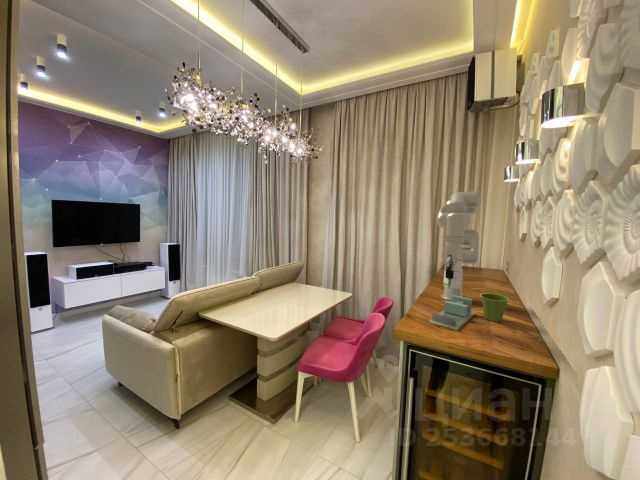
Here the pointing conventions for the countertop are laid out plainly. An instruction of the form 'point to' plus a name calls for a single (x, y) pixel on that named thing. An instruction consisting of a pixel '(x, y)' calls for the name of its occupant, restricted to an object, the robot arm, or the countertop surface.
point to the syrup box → (454, 275)
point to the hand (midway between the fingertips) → (452, 276)
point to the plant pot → (493, 306)
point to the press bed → (459, 319)
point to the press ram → (458, 305)
